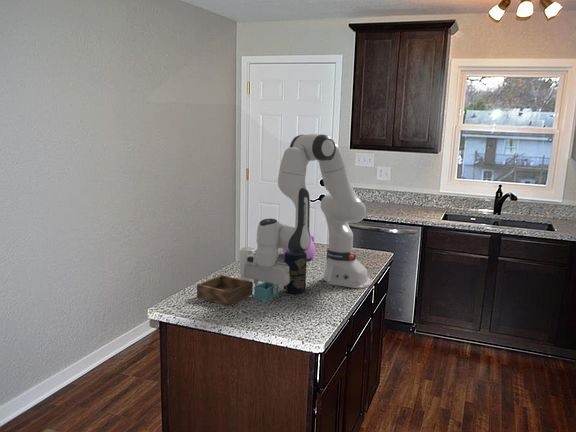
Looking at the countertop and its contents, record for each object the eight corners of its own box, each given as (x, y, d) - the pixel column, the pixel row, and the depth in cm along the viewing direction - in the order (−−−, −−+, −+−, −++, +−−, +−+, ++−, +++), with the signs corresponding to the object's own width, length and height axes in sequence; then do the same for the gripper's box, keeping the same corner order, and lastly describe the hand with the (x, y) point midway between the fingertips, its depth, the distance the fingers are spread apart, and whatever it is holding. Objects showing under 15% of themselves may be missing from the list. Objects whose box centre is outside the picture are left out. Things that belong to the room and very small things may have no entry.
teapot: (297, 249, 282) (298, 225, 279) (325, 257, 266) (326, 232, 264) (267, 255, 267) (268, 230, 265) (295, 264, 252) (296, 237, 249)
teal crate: (278, 295, 207) (278, 283, 206) (266, 301, 199) (267, 289, 198) (266, 292, 210) (266, 280, 209) (254, 298, 202) (254, 286, 201)
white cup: (251, 284, 219) (252, 251, 216) (236, 282, 220) (237, 249, 218) (255, 279, 226) (256, 247, 223) (241, 278, 227) (241, 246, 224)
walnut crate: (252, 294, 206) (252, 281, 205) (229, 306, 192) (229, 292, 191) (221, 287, 214) (221, 274, 213) (197, 297, 200) (197, 284, 199)
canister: (289, 296, 206) (291, 254, 203) (279, 289, 214) (280, 248, 211) (309, 293, 210) (311, 251, 207) (298, 286, 219) (300, 246, 215)
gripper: (293, 261, 199) (291, 294, 201) (250, 253, 209) (249, 285, 211) (285, 265, 193) (284, 299, 196) (241, 256, 203) (241, 289, 206)
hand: (265, 291), depth 204 cm, fingers open, 6 cm apart
